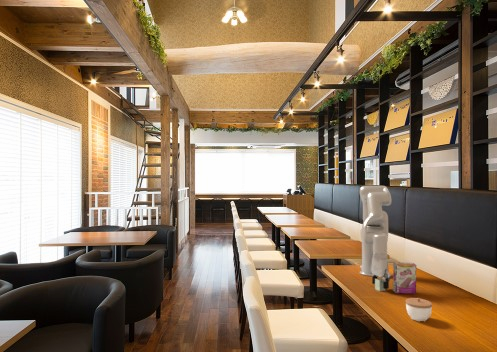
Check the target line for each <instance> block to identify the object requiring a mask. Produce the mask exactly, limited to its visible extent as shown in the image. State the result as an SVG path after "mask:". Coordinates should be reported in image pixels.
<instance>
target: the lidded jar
mask: <svg viewBox="0 0 497 352" xmlns="http://www.w3.org/2000/svg"><path fill="white" fill-rule="evenodd" d="M405 308H406V312H407V314H408V316H409V317H410V319H411V320H412V321H416V322H420V321H424V322H427V320H428V319H429V318H430V317H431V315H432V309H433V303H432V302H431V301H429V300H427V299H424V298H420V297H410V298H409V297H408V298H406V299H405Z"/></svg>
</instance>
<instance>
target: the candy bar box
mask: <svg viewBox="0 0 497 352" xmlns="http://www.w3.org/2000/svg"><path fill="white" fill-rule="evenodd" d="M392 265H393V269H392V272H393V274H392V277H393V278H392V279H393V281H392V282H393V283H392V285H393V286H392V291H393V292H394V293H395V294H403V295H404V294H405V295H408V294H409V295H416V294H417V264H415V263H414V262H397V261H395V262H393V264H392Z"/></svg>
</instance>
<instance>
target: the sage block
mask: <svg viewBox="0 0 497 352" xmlns="http://www.w3.org/2000/svg"><path fill="white" fill-rule="evenodd" d="M383 281H384V280H383V278H382V277H378V279H375V284H374V290H376V291H379V292H386V290H387V289H384V288H383Z"/></svg>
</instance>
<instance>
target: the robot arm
mask: <svg viewBox="0 0 497 352" xmlns="http://www.w3.org/2000/svg"><path fill="white" fill-rule="evenodd" d="M359 196H360V200H361V202H362V220H363V221H362V227H361V229H360V238H361V263H362V264H361V265H360V266H359V268H360V269H361V270H360V271H359V274H360V275H363V276H367V277H368V276H369V277H371V279H372V281H371V282H372V283H371V284H372V285H375V279H379V278H382V279H383V280H384V281H383V288H384V289H386V290H387V289H389V288H390V285H389V284H390V280H391V278H392V274H391V273H390V272H389V271H390V270H389V260H388V240H389V215H388V213H387V212H386V211H385V210H383V206H385V207H386V206H390V205H392V195H391V192H390V191H389V189H388V187H387V186H385V185H362V186H361V187H360V188H359ZM368 225H369V226H368ZM370 225H371V226H370ZM372 225H373V226H372ZM374 225H375V226H374Z"/></svg>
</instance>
